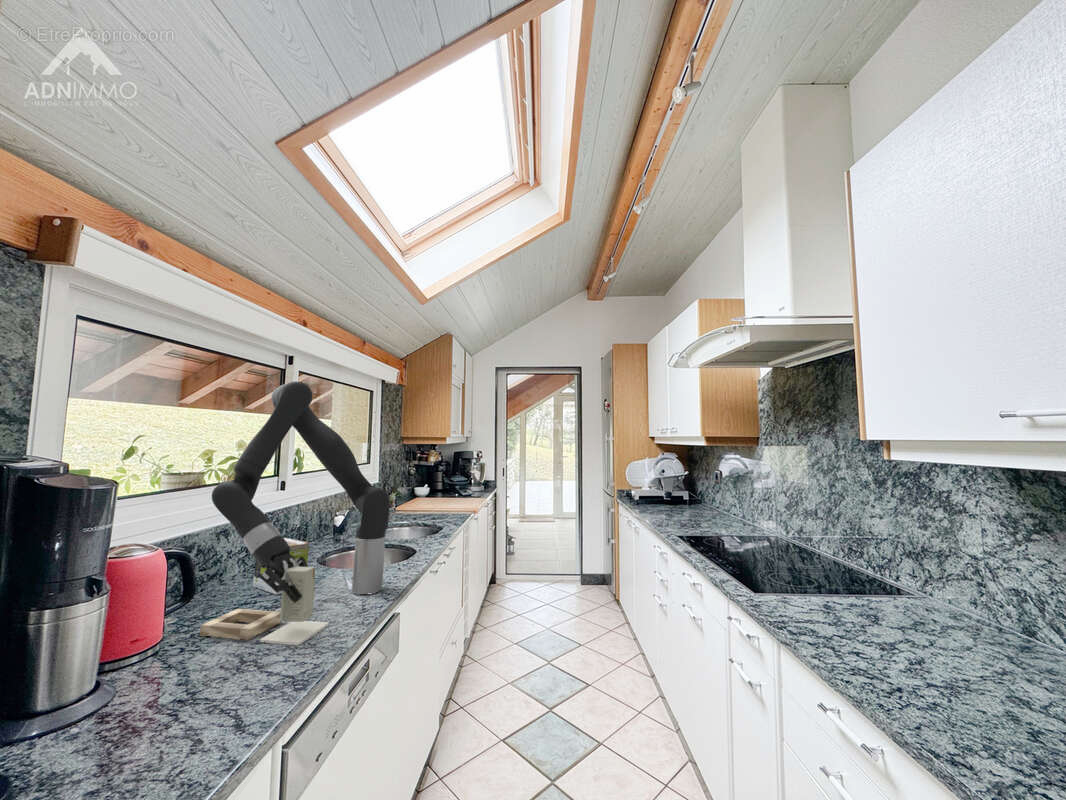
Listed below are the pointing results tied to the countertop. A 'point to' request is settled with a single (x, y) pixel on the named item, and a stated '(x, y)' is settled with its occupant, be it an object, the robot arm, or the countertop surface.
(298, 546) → the tea box
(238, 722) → the countertop surface
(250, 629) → the frame
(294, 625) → the pad
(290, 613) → the skincare box
